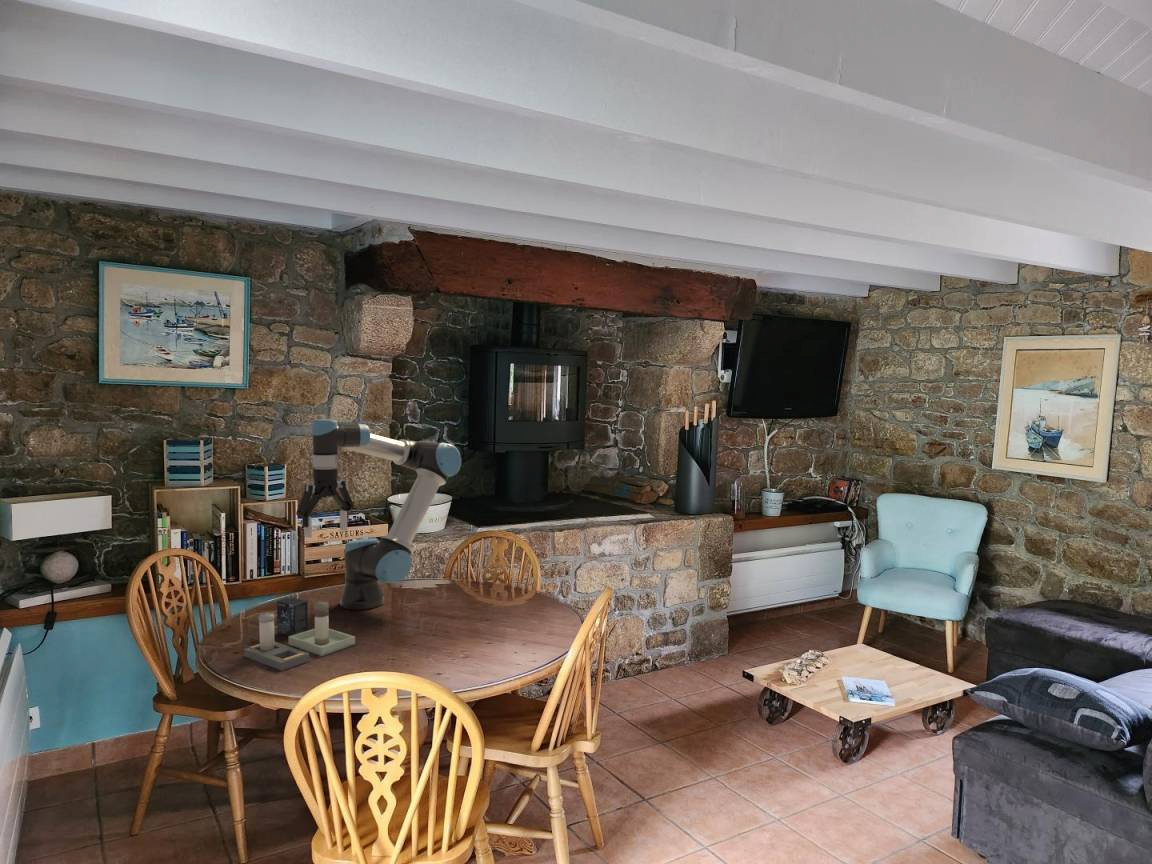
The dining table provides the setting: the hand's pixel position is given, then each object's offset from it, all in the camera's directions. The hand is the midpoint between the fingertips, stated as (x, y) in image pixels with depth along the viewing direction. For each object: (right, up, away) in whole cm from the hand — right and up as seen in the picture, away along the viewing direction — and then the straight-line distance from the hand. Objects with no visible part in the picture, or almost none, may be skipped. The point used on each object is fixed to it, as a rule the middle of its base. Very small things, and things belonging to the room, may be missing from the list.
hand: (326, 533), depth 248 cm
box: (-9, -31, -4) cm, 33 cm away
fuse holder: (-6, -33, -26) cm, 42 cm away
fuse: (-10, -32, -23) cm, 41 cm away
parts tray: (+3, -32, -14) cm, 35 cm away
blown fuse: (+3, -31, -14) cm, 34 cm away
